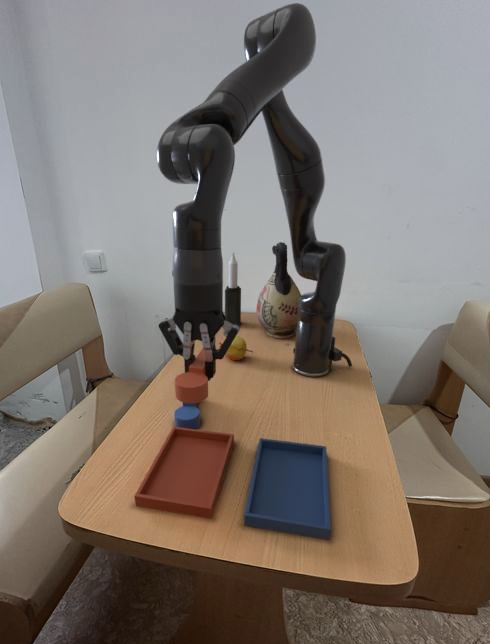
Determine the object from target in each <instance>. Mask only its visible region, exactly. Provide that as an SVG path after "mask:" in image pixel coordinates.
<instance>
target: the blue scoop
mask: <svg viewBox="0 0 490 644" xmlns="http://www.w3.org/2000/svg"><path fill="white" fill-rule="evenodd" d="M197 405H198V403H184V402H182V406H179V407H178V408H176V410H174V412H173V413H174V427H180V428H188V429H196V430H197V429H198V428H199V427H200V425H201V414H200V413H201V412H200V409H199V408H198V407H197Z"/></svg>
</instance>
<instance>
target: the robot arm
mask: <svg viewBox="0 0 490 644" xmlns="http://www.w3.org/2000/svg"><path fill="white" fill-rule="evenodd" d="M316 47H317V34H316V27H315V22H314V19H313V16H312V13H311V11H310V10H309V8H308V7H307V6H306V5H304V4H303V3H299V2H294V3H289V4H285V5H283V6H281V7H279V8H276V9H274V10H271V11H270V12H268V13H265V14H263V15H261V16H259V17H256V18H254V19H253V20H251V21H250V22H249V23H247V25H246V27H245V28H244V34H243V49H244V57H245V62H243V63H241V64H240V65H239V66H238V67H236V68H235V69H233V70H232V71H231V72H230V73H228V74H227V75H226V76H225V77H224V78H223V79H222V80H221V81H220V82H219V83H218V84H217V85H216V86H215V87H214V89H213V90H212V91H211V92H210V94H208V96H207V97H206V98H205V99H204V101H203V102H202V103H200V104H199V105H197V106H195V107H194V108H192V109H190V110H189V111H187V112H186V113H184V114H183V115H182V116H180V117H178V118H177V119H176V120H174V121H173V122H172V123H171V124H170V125H168V126H167V128H166V129H165V130H164V131H163V132H162V134H161V136H160V138H159V140H158V142H157V148H156V162H157V166H158V169H159V171H160V173H161V174H162V175H163V177H164V178H165V179H166V180H168V181H169V182H171V183H174V184H177V185H197V186H196V191H195V194H194V196H193V199H192V200H190V201H188V202H184V203H179V204H178V205H176V206H175V207H174V208H173V210H172V245H173V254H172V271H171V272H172V279H173V300H174V312H173V314H172V317H169V318H168V317H165V318H164V319H163V320H162V321H161V322H160V323H159V324H158V329H159V331H160V332H161V334H162V337H163V338H164V339H165V341H166V344H167V345H168V347H169V349H170V350H171V352H172V354H173V355H175V356H181V357H182V358H183V361H184V373H186V372H189V366H190V365H191V364H192V362H193V361H194V360H195V358H196V354H194V353H195V347H196V341H200V342H202V348H203V349H204V350H205V357H206V361H205V375H206V376H207V378H208V382H211V379H213V378H214V376H215V375H216V373H217V360H220V361H221V360H223V359H224V357H226V356H225V354H226V352H227V351H228V349H229V347H230V346H231V344H232V342H233V340H234V339H235V337H236V336H238V334H239V332H240V331H241V325H240V324H239V325H238V324H234V325H233V324H231V323H230V322H228V321H226V318H225V312H224V310H223V309H224V308H223V307H224V306H223V305H224V303H223V301H224V284H223V283H224V261H223V259H224V258H223V253H222V218H223V213H224V209H225V205H226V200H227V196H228V192H229V188H230V184H231V182H232V181H231V180H232V177H233V173H234V169H235V163H236V152H235V151H236V149H235V146H236V145H237V144H238V143H239V142H240V141H241V140H242V139H243V137H244V136H245V134H246V133H247V132H248V130H249V129H250V127H251V126H252V124H253V123H254V122H255V120H256V119H257V118H258V116H259V115H260V113H261V114H262V117H263V120H264V124H265V128H266V131H267V136H268V139H269V144H270V148H271V152H272V156H273V162H274V166H275V172H276V176H277V180H278V185H279V188H280V192H281V196H282V201H283V204H284V209H285V213H286V219H287V224H288V228H289V229H288V230H289V235H290V243H291V251H292V260H293V264H294V269H295V271H296V273H297V274H298V276H300V277H301V278H303V279H306V280H309V281H315V282H316V287H315V289H314V291H309V292H305V293H303V294H301V296H300V298H299V303H298V316H297V329H296V330H295V341H294V348H293V350H292V351H293V352H292V354H293V364H292V369H293V370H294V372H296V373H297V374H299V375H302V376H304V377H310V378H311V377H312V378H316V377H317V378H318V377H323V376H325V375H327V374H328V373H329V372H330V371H331V372H332V369H333V368H332V367H333V362H339V361H342V358H343V359H345V361H346V363H347V366H348V367H350V368H351V367H353V362H352V360H351V359H350V357H349V356H348V355H347V354H346V353H343V350H341V349H339V348H337V347H335V345H336V336H334V328H335V318H336V313H337V312H336V311H337V304H338V302H339V300H340V296H341V292H342V286H343V280H344V277H345V276H344V275H345V272H346V271H345V270H346V262H347V254H346V251H345V248H344V247H343V246H342V245H341V244H339V243H335V242H327V241H321V240H318V239H317V234H316V231H315V230H316V229H315V215H316V211H317V209H318V207H319V204H320V201H321V199H322V197H323V194H324V191H325V187H326V178H325V171H324V163H323V157H322V151H321V148H320V146H319V144H318V142H317V141H316V140H315V138H314V137H313V135H312V134H311V133H310V131H309V130H308V129H307V128H306V127H305V126H304V125H303V123H302V122H301V121H300V120H299V119H298V117H296V115H295V113H294V112H293V111H292V109H291V107H290V105H289V103H288V101H287V98H286V96H285V92H284V88H285V87H286V86H287V85H289V83H291V82H292V81H293V80H294V79H295V78H297V77H298V76H299V75H300V74H301V73H303V72H304V71H305V70H306V69H307V68H308V67H309V66H310V65H311V63H312V61H313V59H314V57H315V52H316ZM177 328H178V330H179V331H180V332H181V334H182V335H183V339H182V338H181V337H180V335H179V333H178V332H177V330H176V329H177ZM222 328H223V336H224V337H225V339H224V341H223V342H222V346H221V345H220V346H221V348H217V347H216V346H217V345H216V343H217V341H216V339H217V338H216V335H217V334H218V333H219V331H221V329H222ZM181 339H182V340H181Z"/></svg>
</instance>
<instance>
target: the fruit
mask: <svg viewBox="0 0 490 644" xmlns="http://www.w3.org/2000/svg"><path fill="white" fill-rule="evenodd" d="M222 344H223V342H219V345H220V346H219V347H218V349H220V348H221V346H222ZM247 352H250V353H251V354H253V353H254V351H253V350H251V349H250V350H249V349H247V342H246V340H245V339H244V338H243V337H241V336H240V335H236V337H235V339H234V340H233V342H232V344H231V346H230V347H229V349H228V351H227V352H226V354H225V356H224V357H226V358H227V359H229V360H231V361H239V360H241V359H243V358H244V357H245V355H246V353H247Z"/></svg>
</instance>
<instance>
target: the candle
mask: <svg viewBox="0 0 490 644" xmlns="http://www.w3.org/2000/svg"><path fill="white" fill-rule="evenodd" d="M238 268H239V267H238V261H237V260H236V256H235V252H234V251H233V252H232V253H231V257H230V260H229V262H228V285H226V288H225V289H224V315H225V318H226V321H228V322H230V323H231V324H233V325H234V324H238V325H239V326H240V324H242V323H241V322H242V321H241V320H242V288H241V287H240V286H239V285H238Z"/></svg>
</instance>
